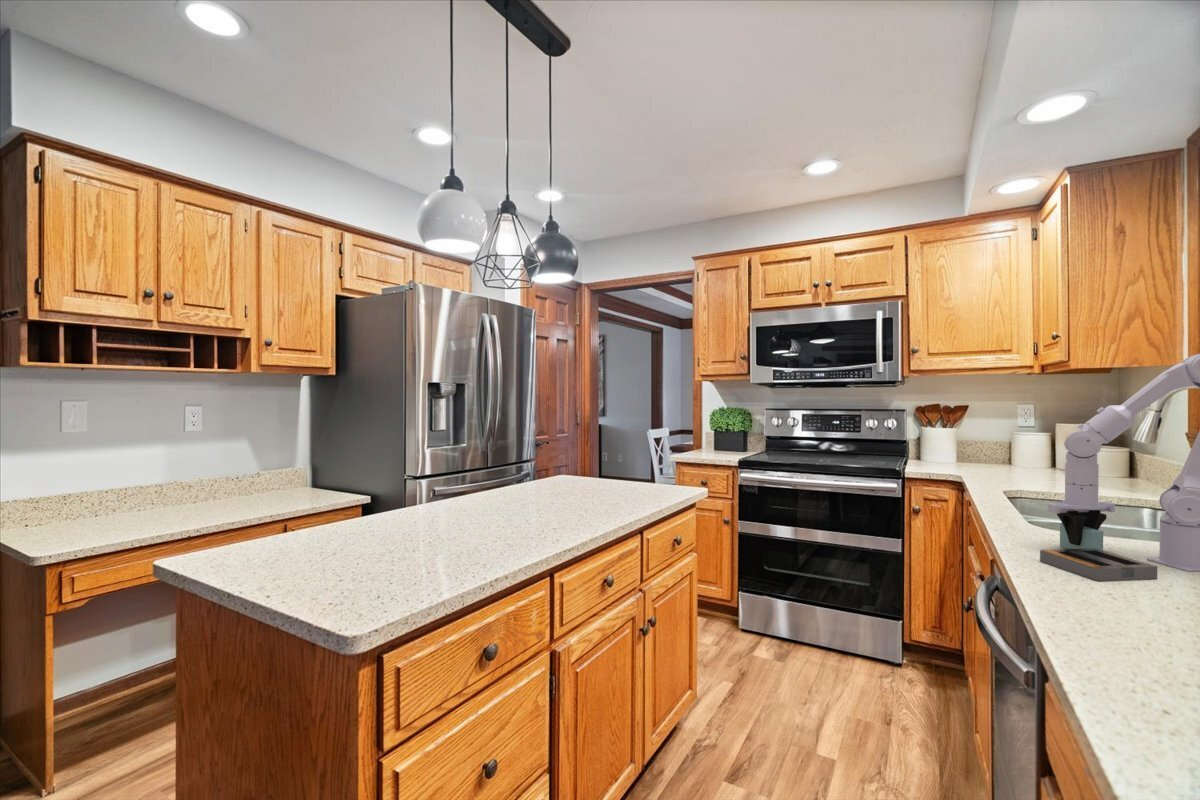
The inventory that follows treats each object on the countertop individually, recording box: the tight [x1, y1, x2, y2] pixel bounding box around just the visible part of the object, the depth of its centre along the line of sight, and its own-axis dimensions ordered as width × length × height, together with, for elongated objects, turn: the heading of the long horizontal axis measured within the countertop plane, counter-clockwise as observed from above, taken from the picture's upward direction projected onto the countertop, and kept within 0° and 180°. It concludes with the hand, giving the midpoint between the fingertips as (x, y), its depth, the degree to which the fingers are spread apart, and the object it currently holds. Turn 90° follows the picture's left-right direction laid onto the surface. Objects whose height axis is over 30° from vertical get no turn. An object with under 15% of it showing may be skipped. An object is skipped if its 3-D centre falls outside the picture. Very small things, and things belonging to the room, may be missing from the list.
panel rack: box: [1039, 548, 1159, 582], centre depth 114 cm, size 13×13×3 cm
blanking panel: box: [1059, 522, 1104, 551], centre depth 127 cm, size 2×8×6 cm, turn 5°
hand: (1080, 544), depth 127 cm, fingers closed on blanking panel, 2 cm apart
